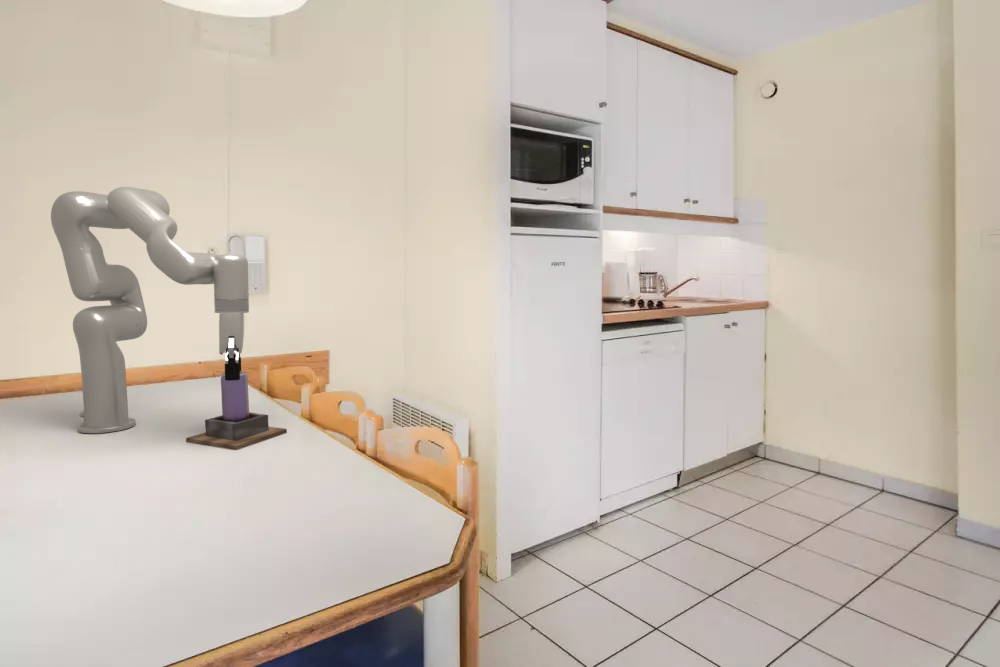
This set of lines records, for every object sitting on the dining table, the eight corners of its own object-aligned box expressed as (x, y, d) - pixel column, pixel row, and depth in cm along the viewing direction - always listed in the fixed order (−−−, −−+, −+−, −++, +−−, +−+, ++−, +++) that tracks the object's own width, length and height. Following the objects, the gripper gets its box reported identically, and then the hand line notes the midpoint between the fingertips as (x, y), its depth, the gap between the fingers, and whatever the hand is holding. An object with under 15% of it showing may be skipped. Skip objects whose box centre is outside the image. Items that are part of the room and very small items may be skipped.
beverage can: (240, 437, 142) (237, 375, 141) (218, 435, 143) (215, 374, 142) (254, 430, 148) (252, 371, 147) (233, 429, 149) (230, 370, 148)
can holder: (186, 442, 142) (185, 421, 141) (239, 426, 156) (238, 407, 156) (236, 450, 135) (235, 428, 135) (286, 432, 150) (286, 413, 149)
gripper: (217, 304, 149) (218, 371, 151) (211, 309, 133) (213, 384, 135) (249, 304, 152) (250, 370, 154) (248, 309, 136) (249, 382, 138)
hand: (233, 376), depth 144 cm, fingers open, 9 cm apart
